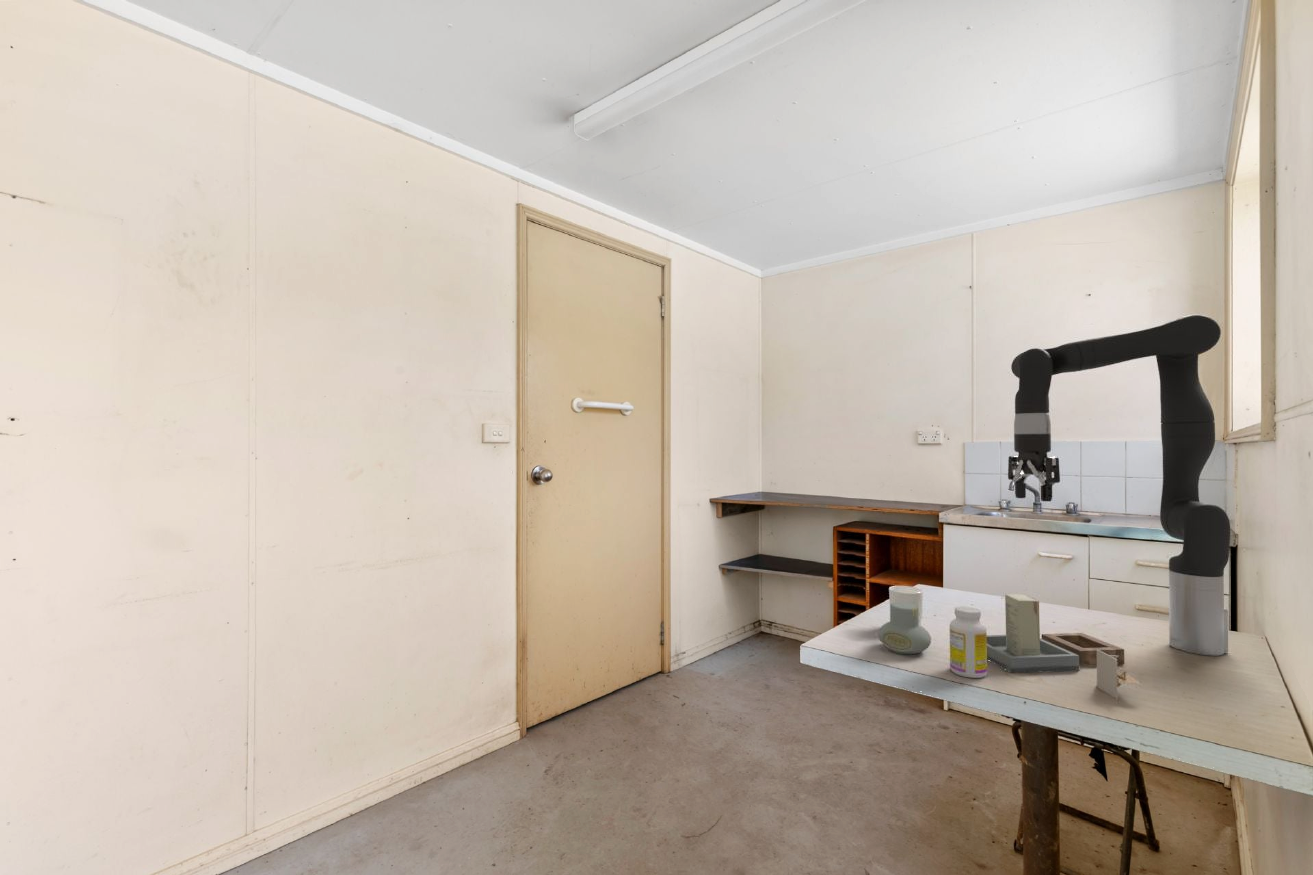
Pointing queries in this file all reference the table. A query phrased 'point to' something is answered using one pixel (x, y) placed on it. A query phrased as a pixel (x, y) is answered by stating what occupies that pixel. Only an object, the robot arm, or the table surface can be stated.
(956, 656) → the supplement bottle
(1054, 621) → the table surface
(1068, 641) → the walnut collar
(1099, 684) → the architectural model
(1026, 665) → the slate tray
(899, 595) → the white cup
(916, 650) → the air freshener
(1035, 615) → the skincare box
